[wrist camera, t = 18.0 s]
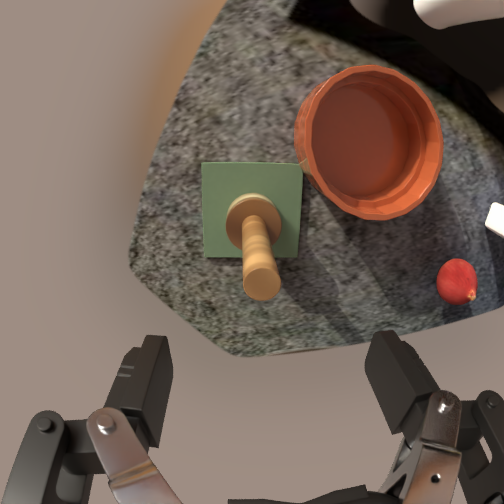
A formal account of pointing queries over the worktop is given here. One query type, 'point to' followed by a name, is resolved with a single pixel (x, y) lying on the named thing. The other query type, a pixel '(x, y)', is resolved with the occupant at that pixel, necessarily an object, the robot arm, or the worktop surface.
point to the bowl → (369, 142)
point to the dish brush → (256, 242)
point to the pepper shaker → (496, 219)
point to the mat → (242, 182)
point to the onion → (457, 282)
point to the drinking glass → (457, 11)
